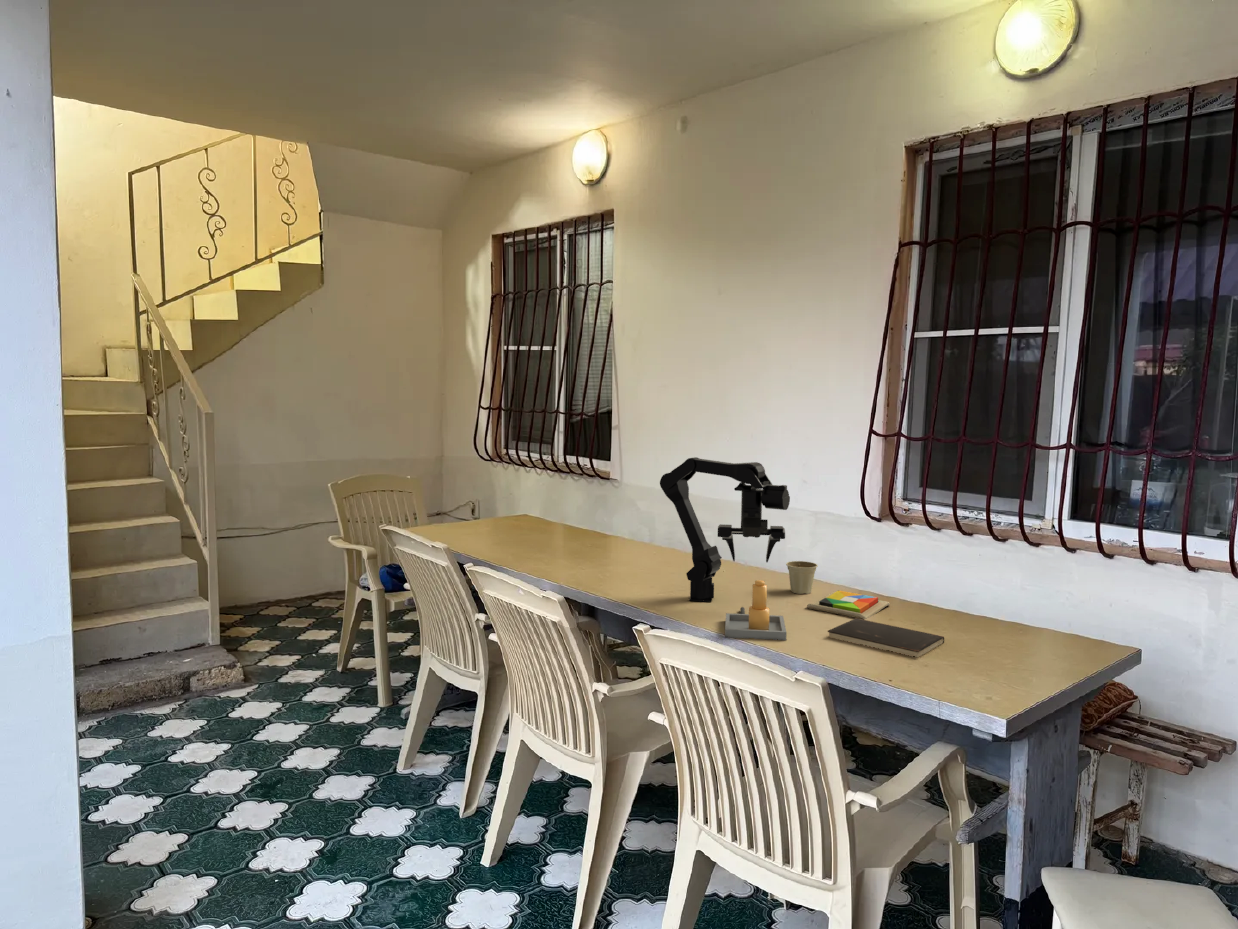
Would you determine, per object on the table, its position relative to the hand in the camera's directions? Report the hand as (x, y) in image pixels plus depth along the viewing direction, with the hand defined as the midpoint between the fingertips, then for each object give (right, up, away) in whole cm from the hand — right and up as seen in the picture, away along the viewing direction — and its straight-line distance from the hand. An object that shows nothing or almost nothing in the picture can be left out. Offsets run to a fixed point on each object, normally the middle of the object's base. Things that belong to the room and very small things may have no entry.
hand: (750, 561), depth 230 cm
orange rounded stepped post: (-2, -15, -23) cm, 27 cm away
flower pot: (+19, -12, +19) cm, 29 cm away
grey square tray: (-2, -15, -22) cm, 26 cm away
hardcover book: (+29, -17, -29) cm, 44 cm away
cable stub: (-3, -14, -8) cm, 17 cm away
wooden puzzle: (+28, -14, +1) cm, 31 cm away
